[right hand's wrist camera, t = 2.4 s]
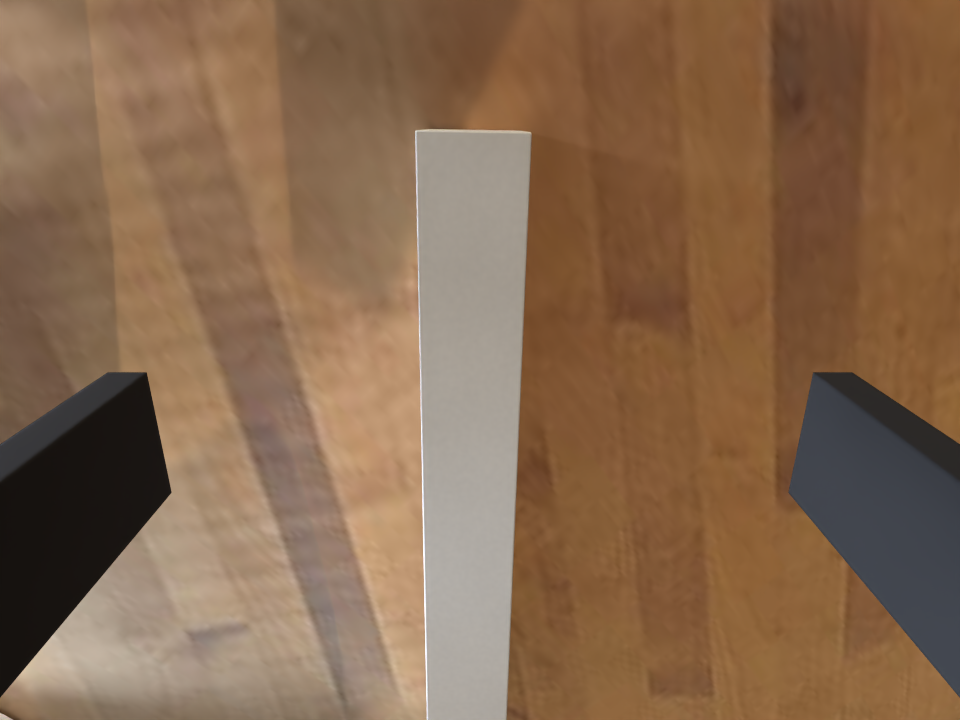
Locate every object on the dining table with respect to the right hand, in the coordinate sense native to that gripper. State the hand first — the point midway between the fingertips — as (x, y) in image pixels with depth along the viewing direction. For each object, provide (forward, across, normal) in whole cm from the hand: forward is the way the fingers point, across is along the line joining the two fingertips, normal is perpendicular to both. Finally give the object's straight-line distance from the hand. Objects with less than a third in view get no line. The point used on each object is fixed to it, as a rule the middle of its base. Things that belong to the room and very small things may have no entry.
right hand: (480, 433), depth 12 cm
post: (+26, -1, -25) cm, 36 cm away
